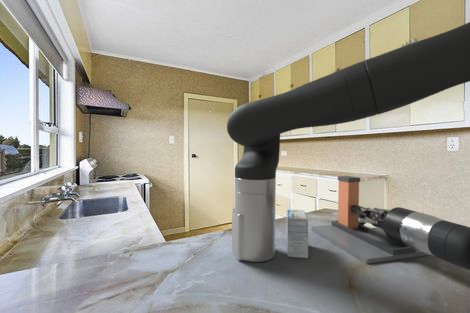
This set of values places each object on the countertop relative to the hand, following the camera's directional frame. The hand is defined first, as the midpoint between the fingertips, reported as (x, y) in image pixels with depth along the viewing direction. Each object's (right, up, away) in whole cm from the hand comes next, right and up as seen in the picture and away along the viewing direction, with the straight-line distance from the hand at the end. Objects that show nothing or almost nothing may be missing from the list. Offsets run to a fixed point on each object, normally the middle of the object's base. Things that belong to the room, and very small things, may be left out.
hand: (353, 208), depth 62 cm
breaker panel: (+1, -7, -5) cm, 9 cm away
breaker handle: (0, -6, +2) cm, 6 cm away
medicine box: (-19, -7, -11) cm, 23 cm away
